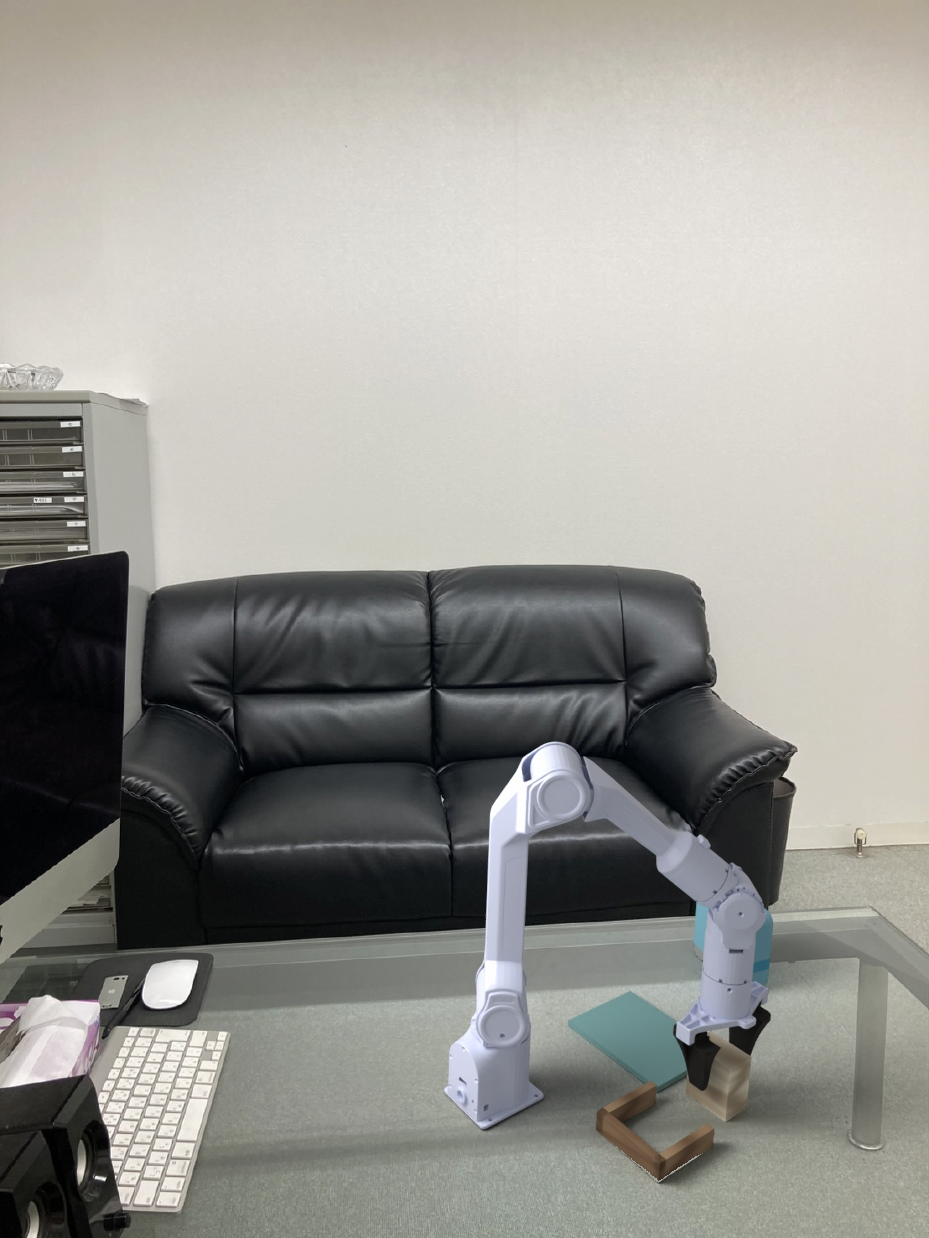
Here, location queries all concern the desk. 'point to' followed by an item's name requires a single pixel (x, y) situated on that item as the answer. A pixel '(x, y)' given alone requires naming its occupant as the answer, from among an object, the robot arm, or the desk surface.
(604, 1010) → the slate-teal mat
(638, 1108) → the frame
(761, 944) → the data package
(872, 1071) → the desk surface
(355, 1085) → the desk surface
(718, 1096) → the ash blank
